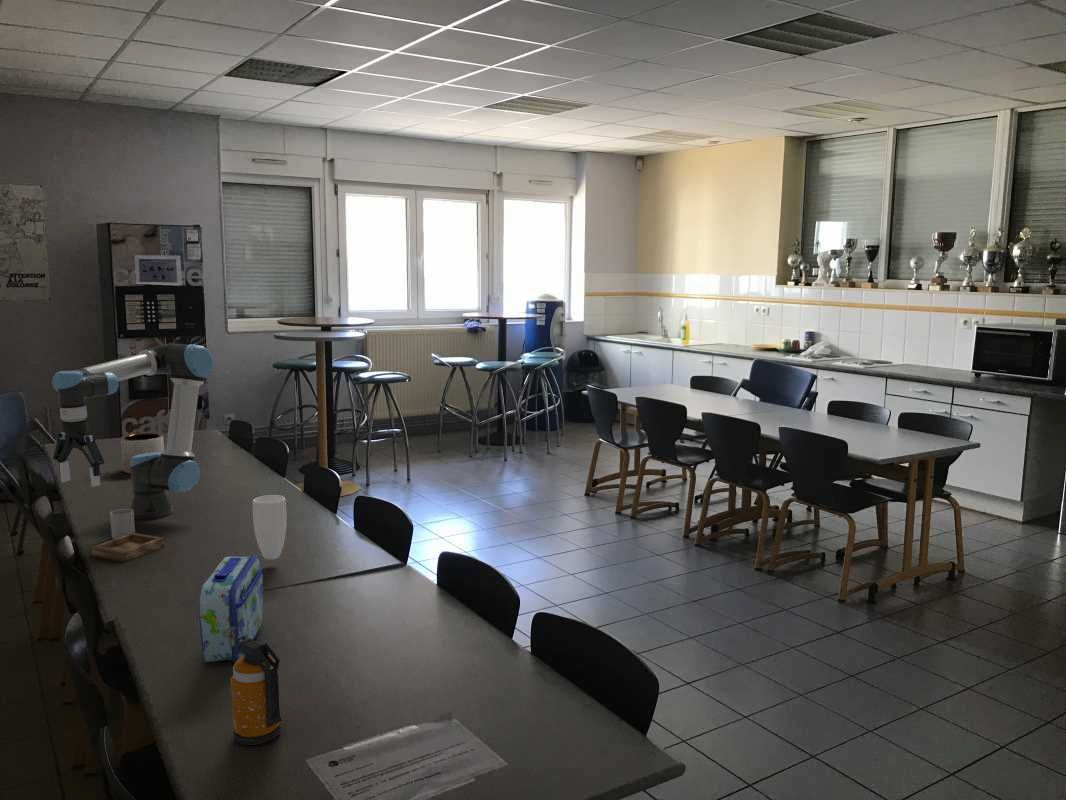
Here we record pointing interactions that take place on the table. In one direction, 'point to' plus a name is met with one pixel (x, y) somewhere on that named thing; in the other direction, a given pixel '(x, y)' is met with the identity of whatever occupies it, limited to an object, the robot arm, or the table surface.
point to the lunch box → (230, 607)
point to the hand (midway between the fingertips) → (80, 483)
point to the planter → (139, 446)
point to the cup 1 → (122, 522)
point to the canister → (255, 694)
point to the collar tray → (128, 547)
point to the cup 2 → (270, 524)
